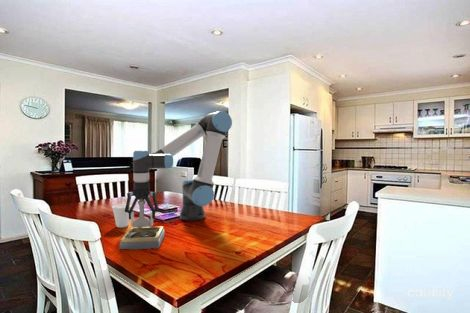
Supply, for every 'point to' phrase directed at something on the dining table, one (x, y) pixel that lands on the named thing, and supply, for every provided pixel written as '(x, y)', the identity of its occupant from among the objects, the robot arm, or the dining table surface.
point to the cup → (121, 215)
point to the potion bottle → (142, 216)
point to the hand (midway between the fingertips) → (142, 225)
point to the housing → (142, 238)
